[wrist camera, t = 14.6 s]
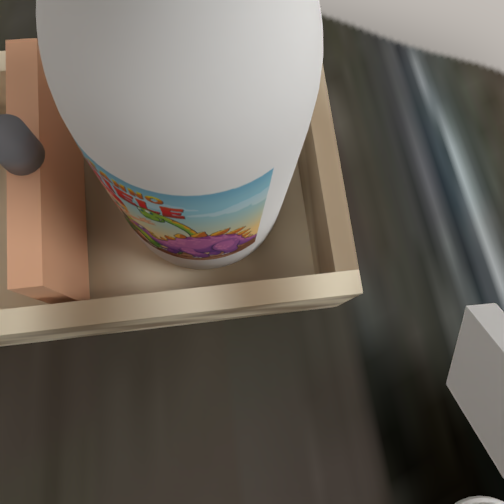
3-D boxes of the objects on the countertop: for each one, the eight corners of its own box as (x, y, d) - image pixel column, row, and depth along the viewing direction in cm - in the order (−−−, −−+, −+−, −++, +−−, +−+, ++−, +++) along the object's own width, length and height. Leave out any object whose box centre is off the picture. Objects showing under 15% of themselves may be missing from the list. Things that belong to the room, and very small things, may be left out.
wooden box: (300, 89, 27) (325, -2, 20) (335, 306, 24) (378, 285, 17) (-103, 121, 25) (-224, 31, 18) (-115, 360, 22) (-263, 359, 16)
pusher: (85, 115, 24) (25, 8, 17) (94, 305, 22) (30, 276, 15) (53, 117, 24) (-21, 11, 17) (60, 309, 22) (-23, 282, 15)
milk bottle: (186, 104, 25) (59, -757, 6) (306, 181, 25) (615, -495, 5) (96, 217, 24) (-505, -469, 4) (224, 302, 23) (223, -29, 3)
